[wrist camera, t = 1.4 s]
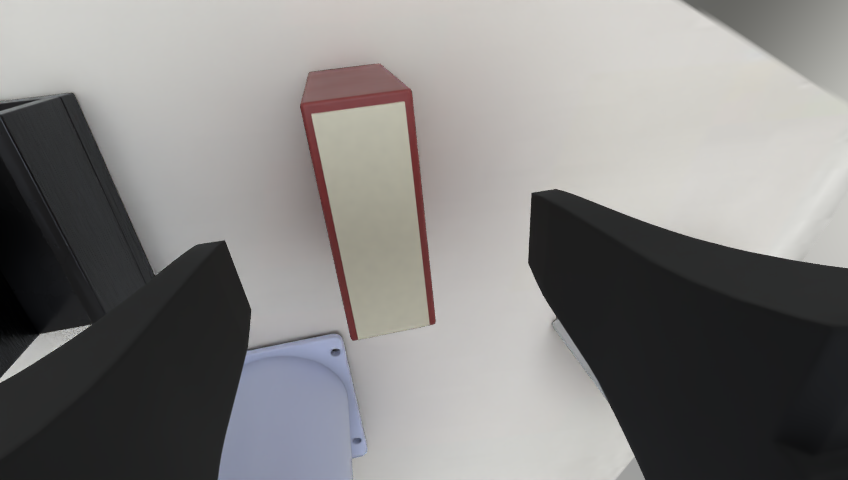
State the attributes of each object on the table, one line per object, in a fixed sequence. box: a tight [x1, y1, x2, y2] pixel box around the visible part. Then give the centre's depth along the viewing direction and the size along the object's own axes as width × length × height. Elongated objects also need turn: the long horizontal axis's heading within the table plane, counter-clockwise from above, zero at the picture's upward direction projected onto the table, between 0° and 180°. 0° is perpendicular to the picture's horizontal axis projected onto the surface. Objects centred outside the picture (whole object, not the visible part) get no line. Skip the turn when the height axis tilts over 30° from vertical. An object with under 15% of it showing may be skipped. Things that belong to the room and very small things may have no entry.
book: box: [300, 64, 436, 341], centre depth 17 cm, size 8×3×8 cm, turn 6°
